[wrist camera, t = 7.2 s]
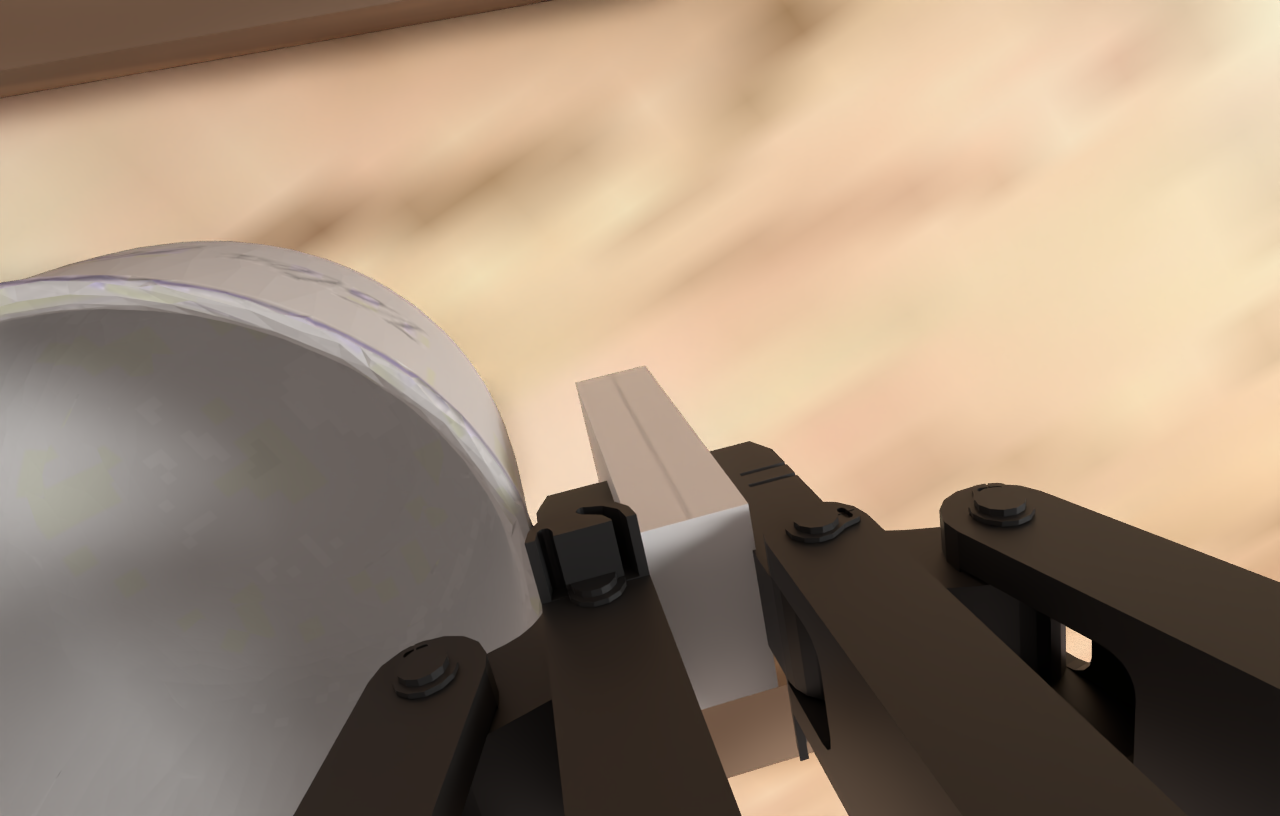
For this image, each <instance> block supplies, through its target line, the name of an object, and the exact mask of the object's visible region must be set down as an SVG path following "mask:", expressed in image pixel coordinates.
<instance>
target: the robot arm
mask: <svg viewBox="0 0 1280 816" xmlns="http://www.w3.org/2000/svg"><path fill="white" fill-rule="evenodd" d="M576 386H577V391H578V395H579V399H580V403H581V408H582V412H583V416H584V420H585V424H586V429H587V433H588V437H589V441H590V446H591V450H592V454H593V458H594V462H595V467H596V471H597V475H598V479H599V483H596V484H592V485H588V486H584V487H580V488H577V489H573V490H569V491H565V492H561V493H557V494H553V495H550V496H547V497H546V499H545V501H544V502H543V504H542V505H541V507H540V508H539V510H538V512H537V522H538V523H537V524H536V525H535V526H534V527H533V528H532V529H531V530H530V531H529V532H528V534H527V537H526V540H525V547H526V551H527V554H528V558H529V562H530V565H531V569H532V572H533V576H534V579H535V583H536V586H537V590H538V593H539V597H540V601H541V604H542V614H541V616H540V617H539V618H538V619H537V621H536V622H535V623H534V624H533V625H532V626H531V627H530V628H529V629H528V630H526V631H525V632H524V633H523V634H522V635H520V636H519V637H517V638H515V639H514V640H512V641H510V642H509V643H507V644H505V645H503V646H501V647H499V648H497V649H495V650H493V651H491V652H489V653H486V651H485V650H484V648H483V647H482V645H481V644H480V643H479V642H478V641H476V640H473V639H471V638H468V637H465V636H442V637H438V638H434V639H430V640H425V641H422V642H419V643H417V644H415V645H414V646H410V647H408V648H406V649H404V650H403V651H401V652H399V653H398V654H397V655H395V656H394V657H393V658H391V659H390V660H389V661H387V662H386V663H385V664H383V665H382V666H381V667H380V668H379V670H378V671H377V672H376V673H375V674H374V676H373V677H372V678H371V679H370V681H369V682H368V684H367V685H366V687H365V689H364V691H363V692H362V694H361V696H360V698H359V700H358V701H357V703H356V705H355V707H354V708H353V710H352V712H351V714H350V716H349V717H348V719H347V721H346V723H345V724H344V726H343V728H342V730H341V731H340V733H339V735H338V737H337V739H336V740H335V742H334V744H333V746H332V747H331V749H330V751H329V753H328V755H327V756H326V758H325V760H324V762H323V763H322V765H321V767H320V769H319V771H318V772H317V774H316V776H315V778H314V779H313V781H312V783H311V785H310V787H309V788H308V790H307V792H306V794H305V795H304V797H303V799H302V801H301V803H300V804H299V806H298V808H297V810H296V811H295V813H294V815H293V816H741V813H740V811H739V808H738V806H737V803H736V800H735V798H734V795H733V792H732V790H731V787H730V784H729V782H728V779H727V777H726V774H725V771H724V769H723V766H722V763H721V761H720V758H719V755H718V753H717V750H716V748H715V745H714V742H713V740H712V737H711V734H710V732H709V729H708V726H707V724H706V721H705V719H704V716H703V713H702V711H701V710H702V709H706V708H709V707H712V706H716V705H719V704H722V703H726V702H729V701H732V700H736V699H739V698H742V697H746V696H749V695H752V694H756V693H759V692H763V691H766V690H769V689H773V688H776V687H778V681H777V675H776V669H775V662H774V656H775V658H776V660H777V662H778V663H779V665H780V667H781V669H782V670H783V672H784V674H785V676H786V680H787V686H788V693H789V699H790V705H791V711H792V718H793V724H794V730H795V736H796V743H797V748H798V752H799V756H800V761H802V760H806V759H809V756H808V749H807V741H808V742H809V744H810V746H811V747H812V749H813V751H814V753H815V755H816V757H817V758H818V760H819V762H820V764H821V766H822V768H823V769H824V771H825V773H826V775H827V777H828V779H829V780H830V782H831V784H832V786H833V788H834V790H835V791H836V793H837V795H838V797H839V799H840V801H841V802H842V804H843V806H844V808H845V810H846V812H847V813H848V815H849V816H1280V582H1277V581H1275V580H1272V579H1270V578H1267V577H1264V576H1262V575H1259V574H1256V573H1254V572H1251V571H1249V570H1246V569H1243V568H1241V567H1238V566H1236V565H1233V564H1230V563H1228V562H1225V561H1222V560H1220V559H1217V558H1215V557H1212V556H1209V555H1207V554H1204V553H1202V552H1199V551H1196V550H1194V549H1191V548H1188V547H1186V546H1183V545H1181V544H1178V543H1175V542H1173V541H1170V540H1168V539H1165V538H1162V537H1160V536H1157V535H1154V534H1152V533H1149V532H1147V531H1144V530H1141V529H1139V528H1136V527H1134V526H1131V525H1128V524H1126V523H1123V522H1121V521H1118V520H1115V519H1113V518H1110V517H1107V516H1105V515H1102V514H1100V513H1097V512H1094V511H1092V510H1089V509H1087V508H1084V507H1081V506H1079V505H1076V504H1073V503H1071V502H1068V501H1066V500H1063V499H1060V498H1058V497H1055V496H1053V495H1050V494H1047V493H1045V492H1042V491H1039V490H1035V489H1031V488H1027V487H1023V486H1018V485H1005V484H1002V483H988V485H986V484H981V485H976V486H973V487H970V488H967V489H964V490H960V491H957V492H955V493H954V494H952V495H951V496H949V497H948V498H946V499H945V500H944V501H943V503H942V506H941V508H940V510H939V512H940V527H936V528H925V529H913V530H894V531H885V530H884V529H882V528H881V527H880V526H879V525H878V524H877V523H876V522H875V521H874V520H873V519H872V518H871V517H870V516H869V515H868V514H866V513H864V512H863V511H861V510H859V509H858V508H856V507H854V506H850V505H846V504H842V503H838V502H823V501H822V500H821V499H820V498H819V497H818V496H817V495H816V494H815V493H814V492H813V491H812V490H811V489H810V488H809V487H808V486H807V485H806V484H805V483H804V482H803V481H802V480H801V479H800V478H799V476H798V475H795V472H794V471H793V470H792V469H791V468H790V467H789V466H788V465H787V464H786V465H785V463H784V461H783V460H782V459H781V458H780V457H779V456H778V455H777V454H776V453H775V452H774V451H773V450H772V449H770V448H767V447H764V446H762V445H759V444H756V443H753V442H750V441H749V442H745V443H741V444H737V445H733V446H729V447H726V448H722V449H718V450H714V451H710V452H709V450H708V449H707V448H706V446H705V445H704V444H703V442H702V441H701V440H700V438H699V437H698V436H697V434H696V433H695V432H694V430H693V429H692V428H691V426H690V425H689V424H688V422H687V421H686V420H685V418H684V417H683V416H682V414H681V413H680V412H679V410H678V409H677V408H676V406H675V405H674V404H673V402H672V401H671V400H670V398H669V397H668V396H667V394H666V393H665V391H664V390H663V389H662V387H661V386H660V385H659V383H658V382H657V381H656V379H655V378H654V377H653V375H652V374H651V373H650V371H649V370H648V369H647V367H646V366H642V367H637V368H633V369H629V370H625V371H621V372H617V373H613V374H609V375H605V376H601V377H597V378H592V379H588V380H584V381H580V382H576ZM1066 626H1067V627H1069V628H1070V629H1072V630H1074V631H1076V632H1078V633H1080V634H1081V635H1083V636H1085V637H1087V638H1089V639H1091V640H1092V659H1091V662H1085V661H1083V660H1080V659H1078V658H1076V657H1074V656H1072V655H1071V654H1069V653H1067V652H1066ZM773 655H774V656H773Z"/></svg>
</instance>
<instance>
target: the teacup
mask: <svg viewBox="0 0 1280 816" xmlns="http://www.w3.org/2000/svg"><path fill="white" fill-rule="evenodd" d="M533 527H534V526H533V525H532V522H531V520H530V517H529V515H528V512H527V508H526V503H525V498H524V493H523V489H522V484H521V479H520V475H519V471H518V467H517V462H516V458H515V455H514V452H513V449H512V446H511V443H510V440H509V437H508V434H507V431H506V427H505V425H504V422H503V420H502V418H501V415H500V413H499V410H498V408H497V406H496V404H495V402H494V400H493V398H492V396H491V394H490V392H489V390H488V389H487V387H486V385H485V383H484V382H483V380H482V379H481V377H480V375H479V374H478V372H477V371H476V369H475V368H474V366H473V365H472V363H471V362H470V361H469V359H468V358H467V357H466V356H465V354H464V353H463V352H462V351H461V349H460V348H459V347H458V346H457V344H456V343H455V342H454V341H453V340H452V339H451V338H450V337H449V336H448V335H447V334H446V333H445V331H443V330H442V329H441V328H440V327H439V326H438V325H437V324H435V323H434V322H433V321H432V320H431V319H430V318H429V317H427V316H426V315H425V314H424V313H423V312H422V311H421V310H419V309H418V308H417V307H416V306H415V305H413V304H412V303H410V302H409V301H407V300H406V299H404V298H403V297H401V296H400V295H398V294H397V293H395V292H394V291H392V290H391V289H389V288H387V287H386V286H384V285H382V284H380V283H379V282H377V281H375V280H373V279H372V278H370V277H367V276H365V275H363V274H361V273H359V272H357V271H355V270H353V269H350V268H348V267H345V266H343V265H340V264H338V263H335V262H332V261H330V260H327V259H324V258H321V257H317V256H314V255H310V254H306V253H303V252H299V251H296V250H292V249H286V248H281V247H275V246H269V245H263V244H253V243H243V242H232V241H194V242H180V243H171V244H163V245H155V246H148V247H140V248H135V249H130V250H126V251H121V252H117V253H112V254H108V255H103V256H100V257H96V258H92V259H88V260H84V261H81V262H77V263H73V264H69V265H66V266H63V267H60V268H57V269H54V270H51V271H47V272H44V273H41V274H38V275H35V276H32V277H29V278H26V279H23V280H16V281H9V282H2V283H0V816H293V815H294V813H295V811H296V810H297V808H298V806H299V804H300V803H301V801H302V799H303V797H304V795H305V794H306V792H307V790H308V788H309V787H310V785H311V783H312V781H313V779H314V778H315V776H316V774H317V772H318V771H319V769H320V767H321V765H322V763H323V762H324V760H325V758H326V756H327V755H328V753H329V751H330V749H331V747H332V746H333V744H334V742H335V740H336V739H337V737H338V735H339V733H340V731H341V730H342V728H343V726H344V724H345V723H346V721H347V719H348V717H349V716H350V714H351V712H352V710H353V708H354V707H355V705H356V703H357V701H358V700H359V698H360V696H361V694H362V692H363V691H364V689H365V687H366V685H367V684H368V682H369V681H370V679H371V678H372V677H373V676H374V674H375V673H376V672H377V671H378V670H379V668H380V667H381V666H382V665H383V664H385V663H386V662H387V661H389V660H390V659H391V658H393V657H394V656H395V655H397V654H398V653H399V652H401V651H403V650H404V649H406V648H408V647H410V646H414V645H415V644H417V643H419V642H422V641H425V640H430V639H434V638H438V637H442V636H465V637H468V638H471V639H473V640H476V641H478V642H479V643H480V644H481V645H482V647H483V648H484V650H485V651H486V653H489V652H491V651H493V650H495V649H497V648H499V647H501V646H503V645H505V644H507V643H509V642H510V641H512V640H514V639H515V638H517V637H519V636H520V635H522V634H523V633H524V632H525V631H526V630H528V629H529V628H530V627H531V626H532V625H533V624H534V623H535V622H536V621H537V619H538V618H539V617H540V616H541V614H542V604H541V601H540V597H539V593H538V590H537V586H536V583H535V579H534V576H533V572H532V569H531V565H530V562H529V558H528V554H527V551H526V547H525V540H526V537H527V534H528V532H529V531H530V530H531V529H532V528H533Z"/></svg>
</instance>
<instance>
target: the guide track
mask: <svg viewBox="0 0 1280 816" xmlns="http://www.w3.org/2000/svg"><path fill="white" fill-rule="evenodd" d="M545 1H550V0H0V98H3V97H8V96H14V95H20V94H25V93H31V92H36V91H42V90H48V89H53V88H59V87H65V86H70V85H76V84H82V83H87V82H93V81H99V80H104V79H110V78H116V77H121V76H127V75H132V74H138V73H144V72H149V71H155V70H161V69H166V68H172V67H178V66H183V65H189V64H195V63H200V62H206V61H211V60H217V59H223V58H228V57H234V56H240V55H245V54H251V53H257V52H262V51H268V50H274V49H279V48H285V47H291V46H296V45H302V44H307V43H313V42H319V41H324V40H330V39H336V38H341V37H347V36H353V35H358V34H364V33H370V32H375V31H381V30H386V29H392V28H398V27H403V26H409V25H415V24H420V23H426V22H432V21H437V20H443V19H449V18H454V17H460V16H466V15H471V14H477V13H482V12H488V11H494V10H499V9H505V8H511V7H516V6H522V5H528V4H533V3H539V2H545ZM773 656H774V655H773ZM774 662H775V669H776V675H777V681H778V687H776V688H773V689H769V690H766V691H763V692H759V693H756V694H752V695H749V696H746V697H742V698H739V699H736V700H732V701H729V702H726V703H722V704H719V705H716V706H712V707H709V708H706V709H702V710H701V711H702V713H703V716H704V719H705V721H706V724H707V726H708V729H709V732H710V734H711V737H712V740H713V742H714V745H715V748H716V750H717V753H718V755H719V758H720V761H721V763H722V766H723V769H724V771H725V774H726V777H727V778H730V777H733V776H736V775H740V774H743V773H746V772H749V771H753V770H756V769H759V768H763V767H766V766H769V765H773V764H776V763H779V762H782V761H786V760H789V759H792V758H796V757H799V752H798V748H797V743H796V736H795V730H794V724H793V718H792V711H791V705H790V699H789V693H788V686H787V680H786V676H785V674H784V672H783V670H782V669H781V667H780V665H779V663H778V662H777V660H776V658H775V656H774ZM807 749H808V754H809V753H812V752H814V751H813V749H812V747H811V746H810V744H809V742H808V741H807Z"/></svg>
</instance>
